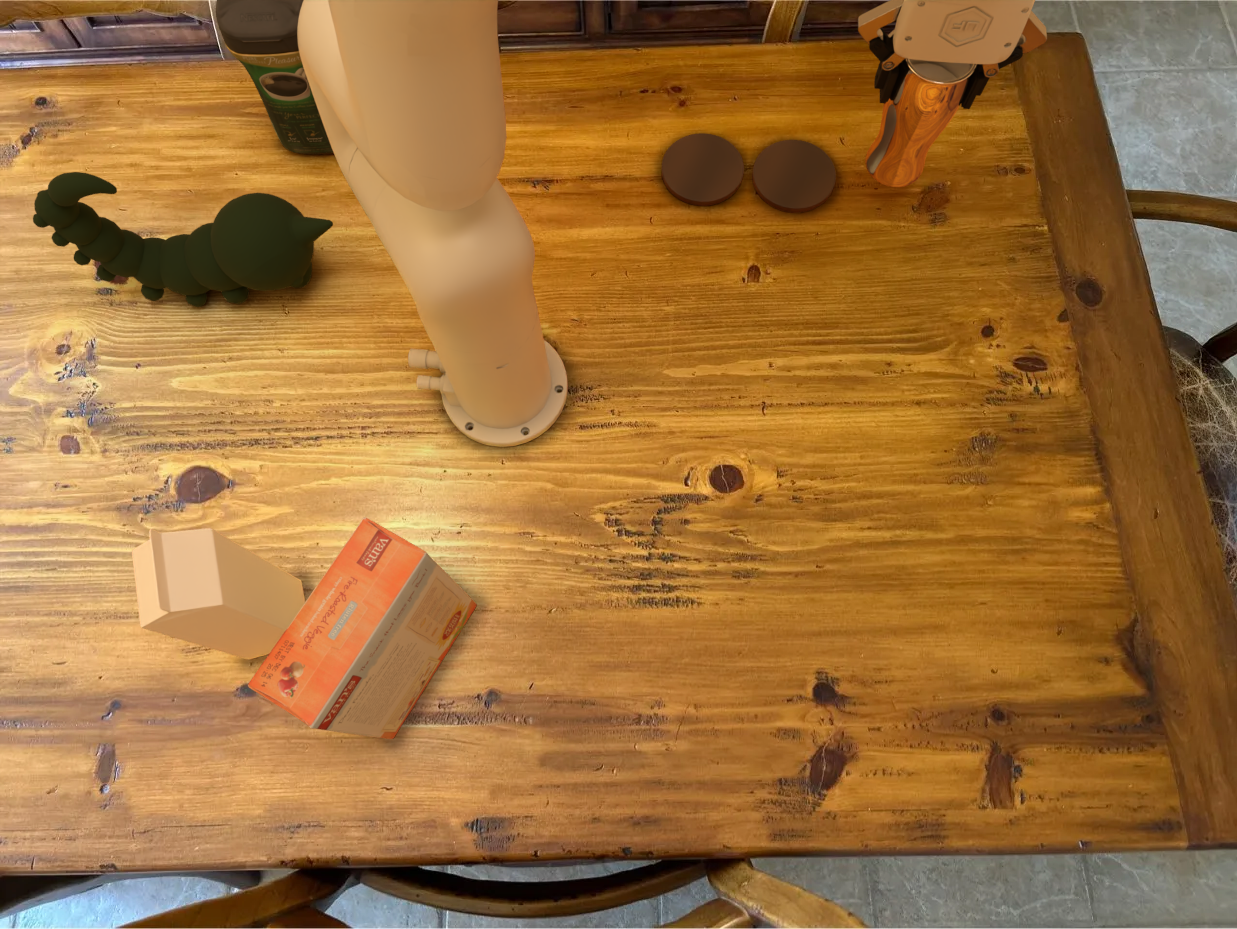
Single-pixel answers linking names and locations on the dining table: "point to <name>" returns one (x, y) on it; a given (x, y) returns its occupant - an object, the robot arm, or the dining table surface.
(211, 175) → the dining table surface
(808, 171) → the coaster
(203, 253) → the toy figurine
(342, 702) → the cracker box
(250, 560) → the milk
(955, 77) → the wood grain tumbler
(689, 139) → the coaster
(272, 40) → the coffee jar
